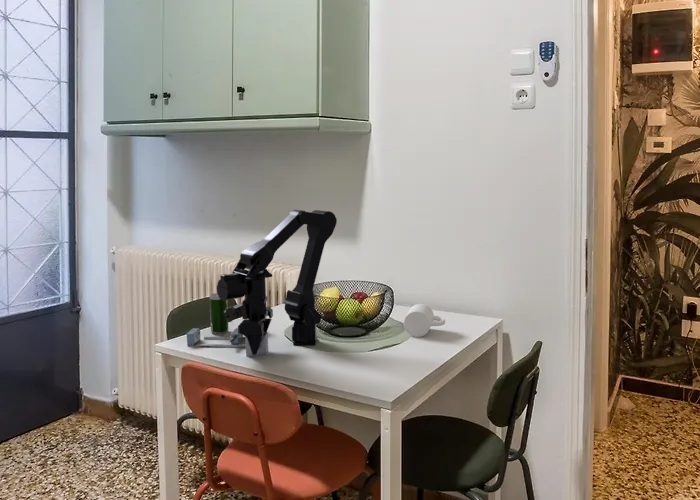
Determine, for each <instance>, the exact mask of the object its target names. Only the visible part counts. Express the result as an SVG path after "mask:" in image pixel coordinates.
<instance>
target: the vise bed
mask: <svg viewBox="0 0 700 500" xmlns="http://www.w3.org/2000/svg"><path fill="white" fill-rule="evenodd" d="M200 339H201V329H200V328H199V327H197V328H196V327H193V328H191V329H190V330H189V331H188V332H187V333H186V344H187V345H194V346H196V348H198V347H197V346H214V347H213V348H216V347H215V346H219V347H218V348H246V344H239V345H231V344H213V343H212V344H207V343H206V344H203V343H201V344H200V343H199V344H198V342H200V341H201V340H200ZM203 339H204V340H231V336H203ZM243 340H246V337H245V336H243ZM187 345H186V346H187ZM220 346H221V347H220Z"/></svg>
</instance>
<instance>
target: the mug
mask: <svg viewBox="0 0 700 500" xmlns="http://www.w3.org/2000/svg"><path fill="white" fill-rule="evenodd" d="M445 324H446V319H445V318H444V317H442V316H439V315H434V312H433V310H432V308H431V307H430V306H429V305H427V304H424V303H416V304H414V305H413V306H412V307H411V308H410V309H409V311H408V312H407V314H406V316H405V317H404V320H403V327H404V331H405V332H406V333H407V334H408V335H409V336H411V337H414V338H421V337H424V336H425V335H426V334H428V332H429V331H430V329H431V327H441V326H444V325H445Z"/></svg>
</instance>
